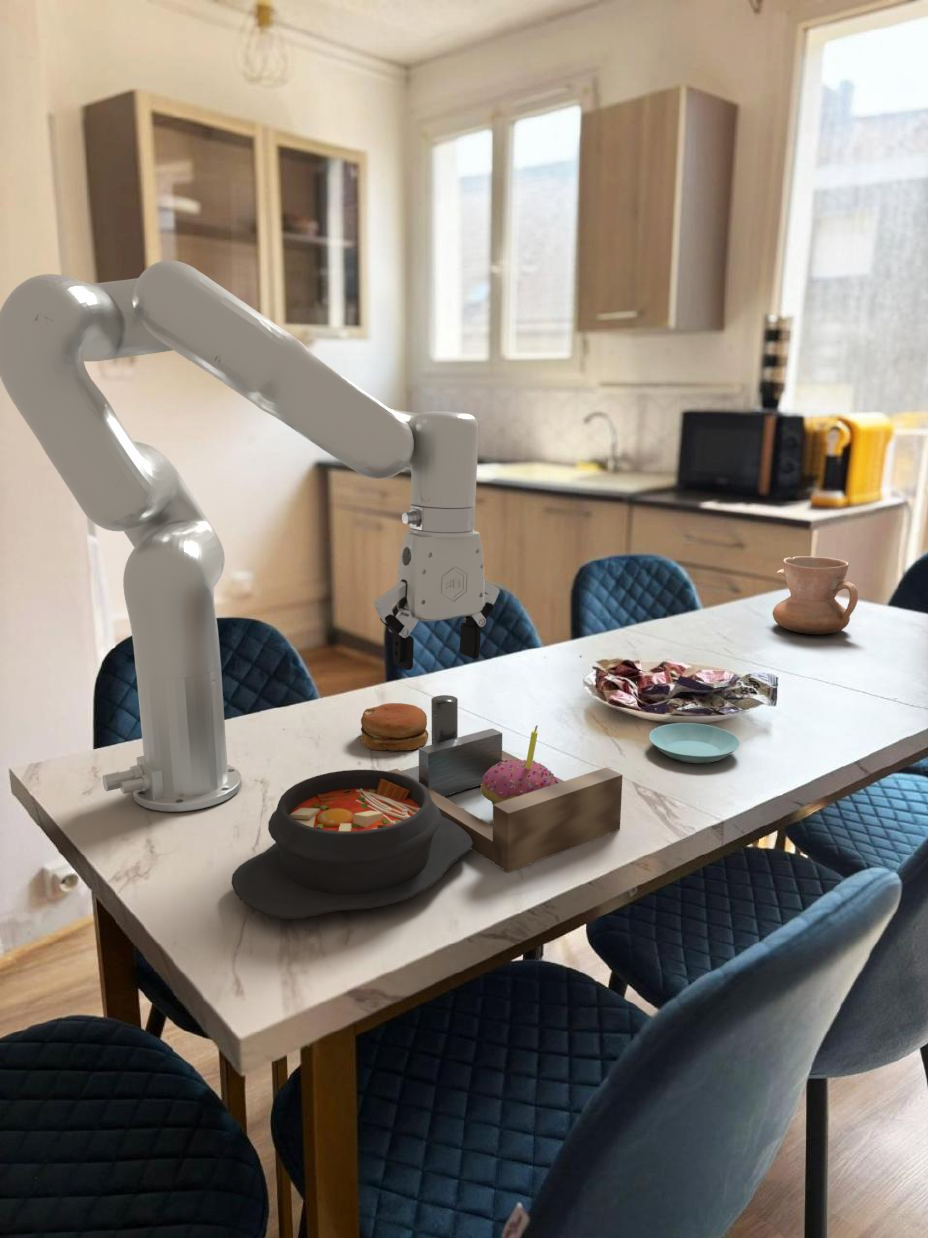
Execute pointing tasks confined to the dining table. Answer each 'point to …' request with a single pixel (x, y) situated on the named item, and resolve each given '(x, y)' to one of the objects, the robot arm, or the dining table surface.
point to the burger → (394, 727)
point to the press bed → (541, 818)
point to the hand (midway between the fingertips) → (436, 661)
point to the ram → (454, 752)
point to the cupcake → (516, 777)
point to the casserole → (350, 846)
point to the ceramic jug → (814, 595)
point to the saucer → (694, 742)
